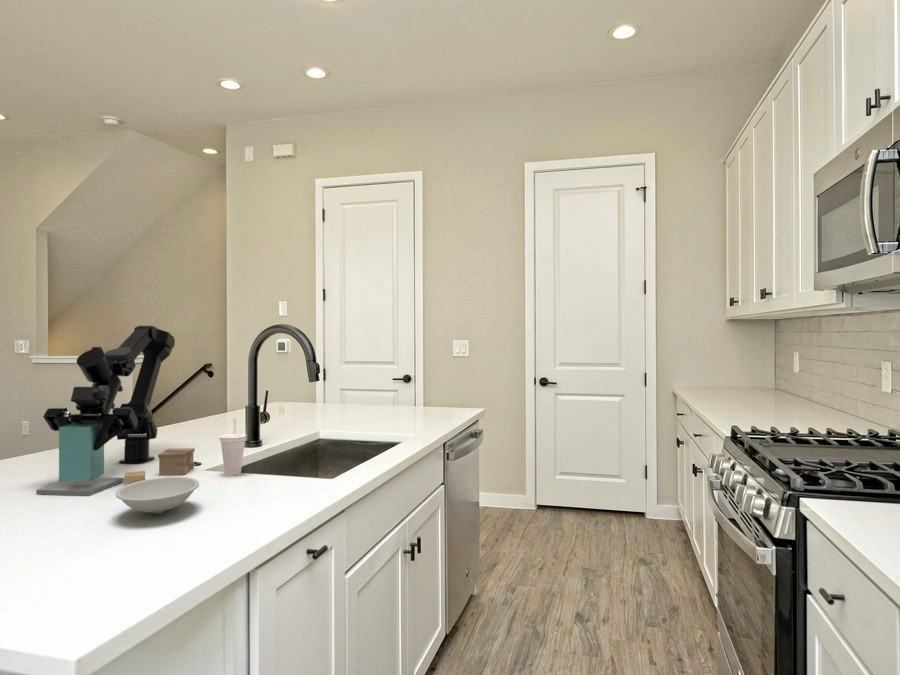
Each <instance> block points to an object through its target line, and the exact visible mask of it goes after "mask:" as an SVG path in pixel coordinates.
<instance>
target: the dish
mask: <svg viewBox="0 0 900 675" xmlns="http://www.w3.org/2000/svg"><path fill="white" fill-rule="evenodd" d="M199 487H200V481H199V480H197V479H196V478H192V477H188V476H164V477H154V478H149V479H145V480H143V481H139V482H135V483H132V484H129V485H126V486H124V485H123V486H122V487H120V488H119V489H118V490H116V492H115V497H116V498H117V499H118V500H121V501H122V502H123V504H124V505H126V506H127V507H129V508H130V509H132V510H134V511H136V512H137V511H138V512H140V513H153V514H154V515H156V514H157V515H160V514H163V513H164V511H168V510H169V511H170V510H171V509H173V508H176V507H178V506H180V505H181V504H183V503H184V502H185V501H187V500H188V499H189V497H190V496H191V495H192V494H193V493H194V491H195V490H196V489H198V488H199Z"/></svg>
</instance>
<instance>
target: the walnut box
mask: <svg viewBox="0 0 900 675" xmlns="http://www.w3.org/2000/svg"><path fill="white" fill-rule="evenodd" d="M194 453H195V448H194V447H193V448H192V447H191V448H190V447H189V448H183V447H182V448H167V449H165V450H164V451H162V452H160V453H158V454H157V458H158V475H159V476H185V475H187V474H188V473H190V470H191V469H192V470H193V469H194ZM192 470H191V471H192ZM187 472H188V473H187ZM184 474H185V475H184Z"/></svg>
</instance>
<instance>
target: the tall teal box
mask: <svg viewBox="0 0 900 675" xmlns="http://www.w3.org/2000/svg"><path fill="white" fill-rule="evenodd" d="M102 426H103V422H82V423H71V424H68V425H65V426H61V427H59V431H58V482H65V481H91V480H93V479H95V478H97V477H101V476H103V475H105V444H104V445H103V446H102V447H101V448H99V449H98V450H97V451H95V449H94V446H95V442H96V440H97V437H98V435H99V433H100V431H101V428H102Z"/></svg>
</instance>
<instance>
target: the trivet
mask: <svg viewBox="0 0 900 675" xmlns="http://www.w3.org/2000/svg"><path fill="white" fill-rule="evenodd" d="M119 483H120V484H122V483H124V477H112V476H111V477H109V476H108V477H107V476H103V477H101V476H99V477H97V478H95V479H93V480H91V481H65V482H59V481H58V482H55V483H52V484H50V485H47V486H44V487H40V488H38V489H36V491H35V493H36V494H46V495H45V496H73V495H76V496H79V495H80V496H81V497H91V496H92V495H95V493H96V494H98V493H101V492H102V490H103V491H105V490H107V488H108V489H110V488H112V486H113V487H115V486H118V485H120V484H119ZM104 489H105V490H104ZM97 492H98V493H97ZM90 495H91V496H90ZM80 496H79V497H80Z"/></svg>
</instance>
